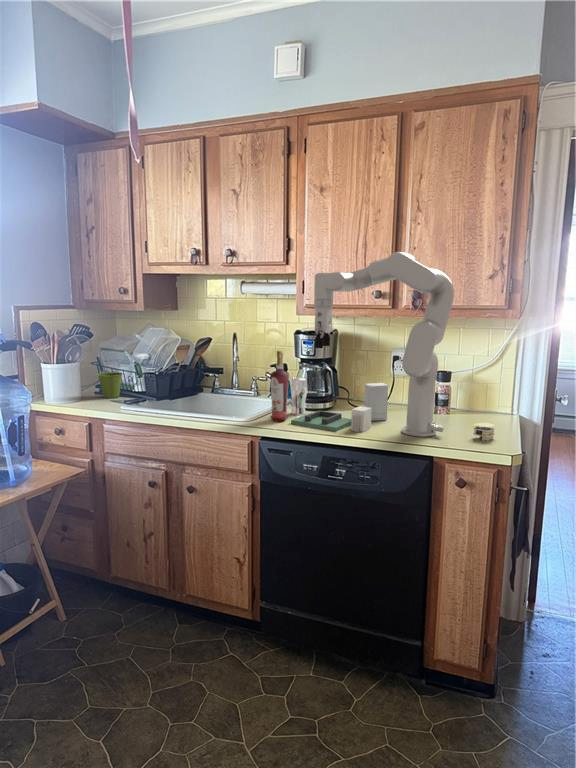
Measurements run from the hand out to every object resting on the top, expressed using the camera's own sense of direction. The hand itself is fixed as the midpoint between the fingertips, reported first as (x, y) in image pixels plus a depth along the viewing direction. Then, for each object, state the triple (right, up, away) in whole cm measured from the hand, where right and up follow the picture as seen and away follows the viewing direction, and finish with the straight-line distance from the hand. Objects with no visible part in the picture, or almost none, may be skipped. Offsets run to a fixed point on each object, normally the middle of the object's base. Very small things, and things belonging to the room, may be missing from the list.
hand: (322, 346), depth 213 cm
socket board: (0, -31, -4) cm, 31 cm away
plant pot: (-99, -21, +40) cm, 109 cm away
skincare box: (+22, -30, +4) cm, 37 cm away
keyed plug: (+14, -32, -12) cm, 37 cm away
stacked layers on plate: (+57, -35, -23) cm, 71 cm away
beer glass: (-9, -28, +12) cm, 32 cm away
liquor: (-18, -30, 0) cm, 35 cm away
